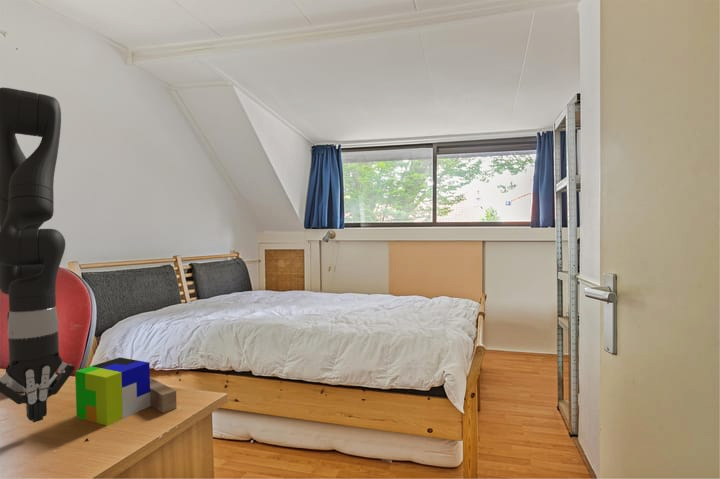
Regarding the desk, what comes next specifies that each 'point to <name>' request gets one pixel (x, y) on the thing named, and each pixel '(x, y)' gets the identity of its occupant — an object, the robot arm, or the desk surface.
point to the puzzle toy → (112, 390)
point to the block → (162, 396)
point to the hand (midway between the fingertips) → (36, 420)
